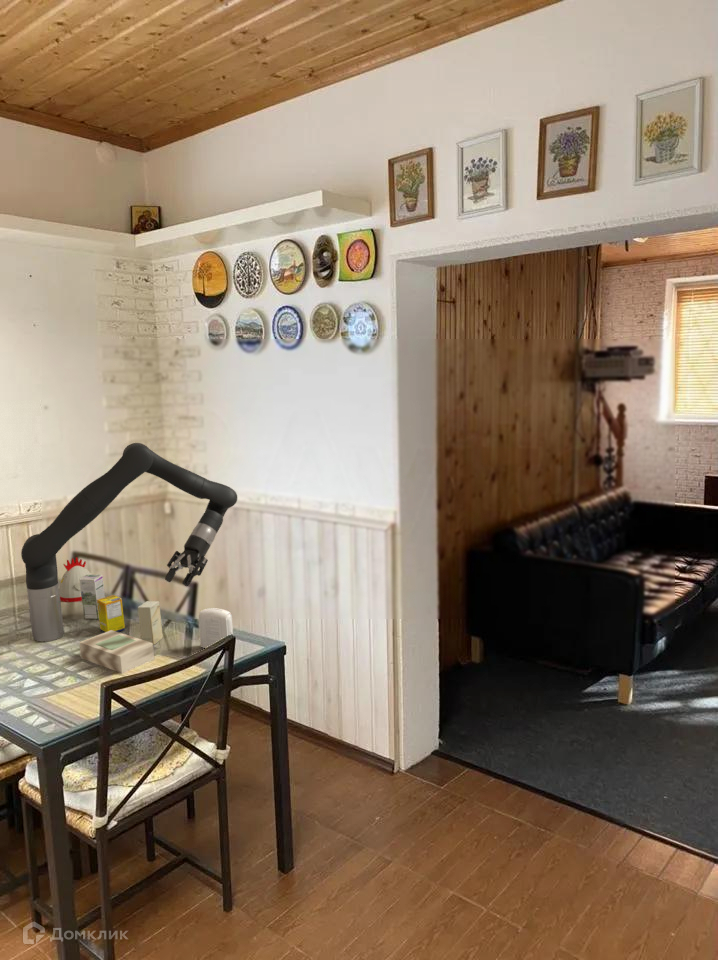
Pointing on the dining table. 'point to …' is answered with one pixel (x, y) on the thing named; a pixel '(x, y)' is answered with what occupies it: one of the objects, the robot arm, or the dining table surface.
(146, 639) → the skincare box
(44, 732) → the dining table surface
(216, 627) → the photo printer
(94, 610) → the syrup box
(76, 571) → the kitchen timer
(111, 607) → the supplement box
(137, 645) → the step block
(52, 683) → the dining table surface
